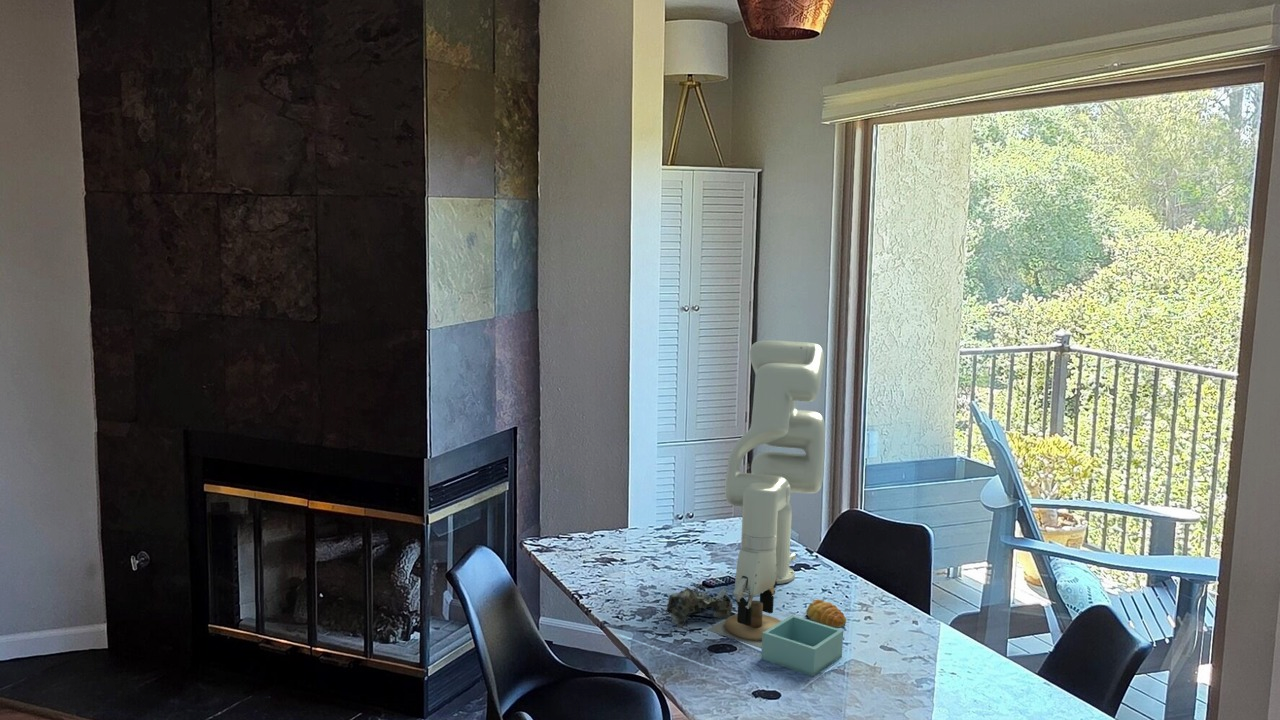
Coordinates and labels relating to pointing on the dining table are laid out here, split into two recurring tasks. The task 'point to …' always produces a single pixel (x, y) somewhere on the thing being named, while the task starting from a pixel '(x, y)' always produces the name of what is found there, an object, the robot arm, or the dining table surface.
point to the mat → (721, 630)
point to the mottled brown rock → (697, 604)
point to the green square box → (802, 645)
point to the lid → (757, 624)
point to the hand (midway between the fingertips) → (755, 617)
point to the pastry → (826, 614)
